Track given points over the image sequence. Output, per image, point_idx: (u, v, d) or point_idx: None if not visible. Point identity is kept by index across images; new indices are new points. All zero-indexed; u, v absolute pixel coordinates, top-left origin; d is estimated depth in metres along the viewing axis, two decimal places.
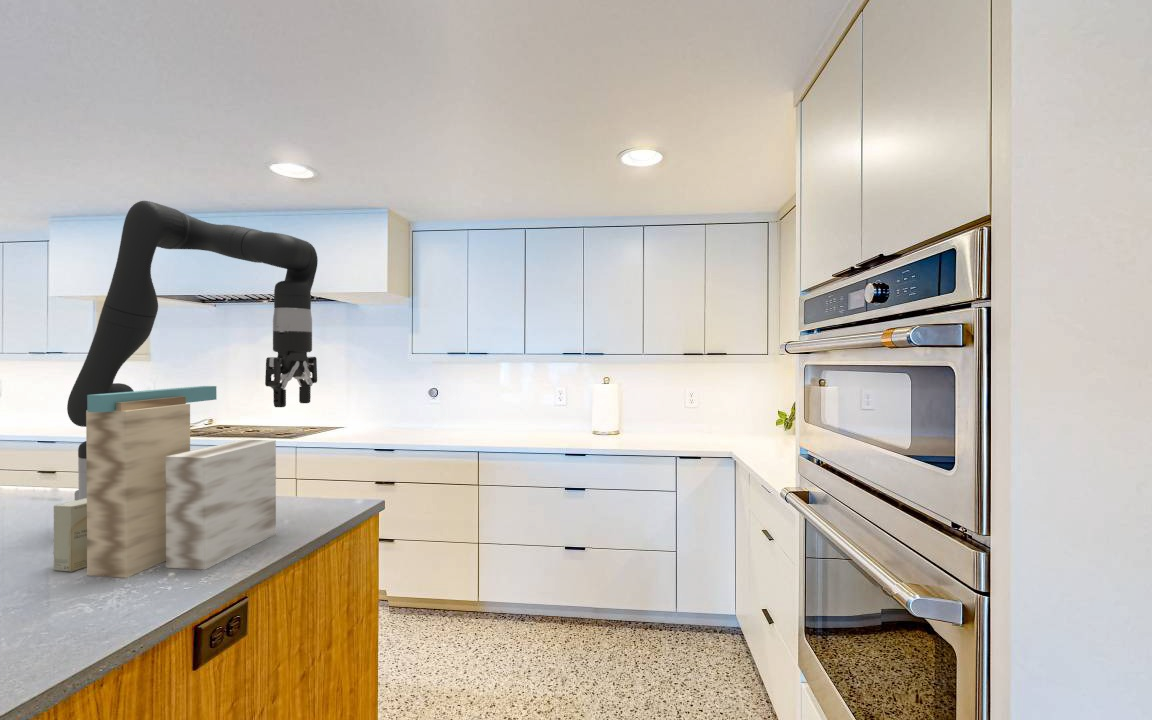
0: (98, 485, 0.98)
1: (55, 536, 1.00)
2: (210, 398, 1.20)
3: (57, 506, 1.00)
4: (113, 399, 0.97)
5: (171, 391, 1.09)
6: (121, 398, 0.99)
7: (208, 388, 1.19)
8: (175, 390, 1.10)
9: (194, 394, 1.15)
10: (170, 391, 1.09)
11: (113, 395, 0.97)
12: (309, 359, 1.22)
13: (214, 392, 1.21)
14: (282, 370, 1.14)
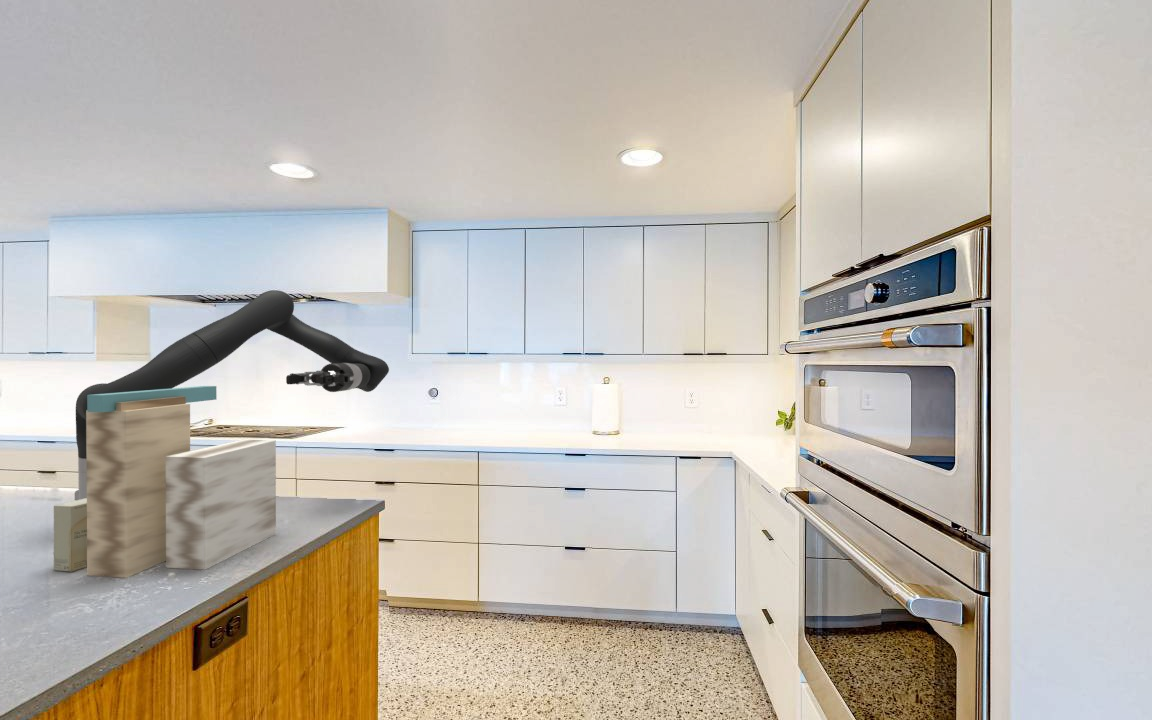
0: (98, 485, 0.98)
1: (55, 536, 1.00)
2: (210, 398, 1.20)
3: (57, 506, 1.00)
4: (113, 399, 0.97)
5: (171, 391, 1.09)
6: (121, 398, 0.99)
7: (208, 388, 1.19)
8: (175, 390, 1.10)
9: (194, 394, 1.15)
10: (170, 391, 1.09)
11: (113, 395, 0.97)
12: (308, 379, 1.40)
13: (214, 392, 1.21)
14: None
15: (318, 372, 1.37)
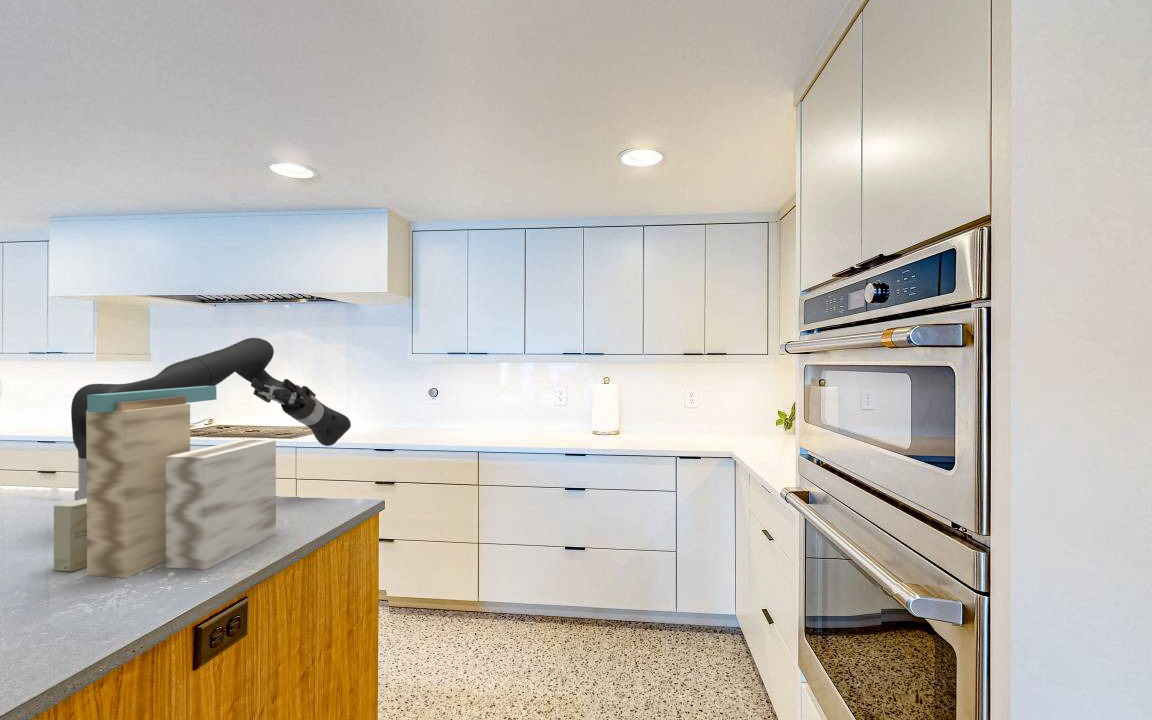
0: (98, 485, 0.98)
1: (55, 536, 1.00)
2: (210, 398, 1.20)
3: (57, 506, 1.00)
4: (113, 399, 0.97)
5: (171, 391, 1.09)
6: (121, 398, 0.99)
7: (208, 388, 1.19)
8: (175, 390, 1.10)
9: (194, 394, 1.15)
10: (170, 391, 1.09)
11: (113, 395, 0.97)
12: None
13: (214, 392, 1.21)
14: (296, 393, 1.43)
15: None
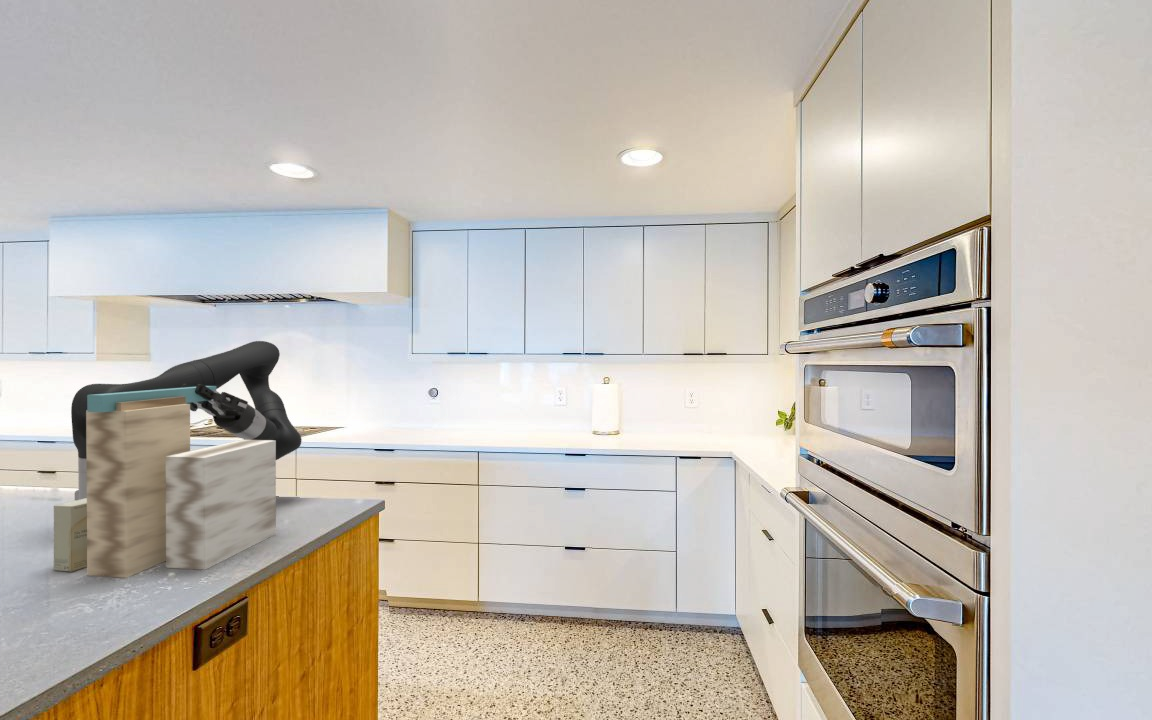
0: (98, 485, 0.98)
1: (55, 536, 1.00)
2: None
3: (57, 506, 1.00)
4: (113, 399, 0.97)
5: (171, 391, 1.09)
6: (121, 398, 0.99)
7: None
8: (175, 390, 1.10)
9: (194, 394, 1.15)
10: (170, 391, 1.09)
11: (113, 395, 0.97)
12: (199, 408, 1.25)
13: None
14: None
15: None
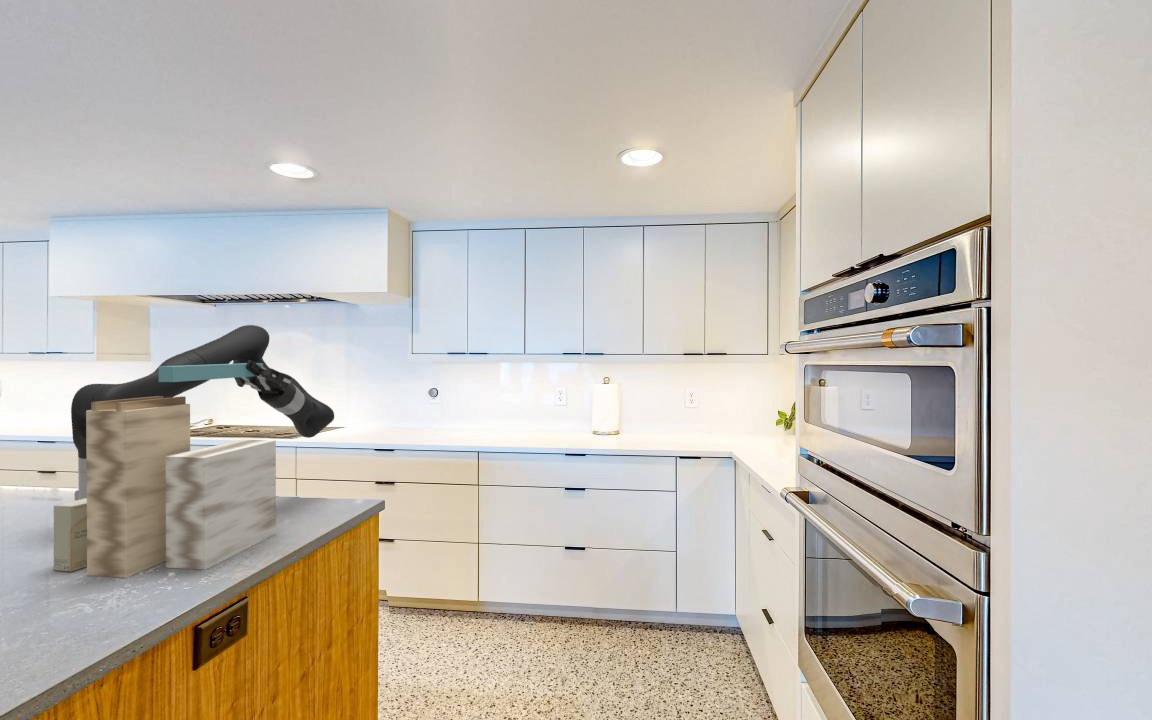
0: (98, 485, 0.98)
1: (55, 536, 1.00)
2: None
3: (57, 506, 1.00)
4: (181, 370, 1.07)
5: (227, 366, 1.19)
6: (187, 370, 1.09)
7: None
8: (230, 365, 1.20)
9: (245, 369, 1.25)
10: (226, 366, 1.19)
11: (181, 367, 1.07)
12: (245, 384, 1.34)
13: None
14: None
15: None
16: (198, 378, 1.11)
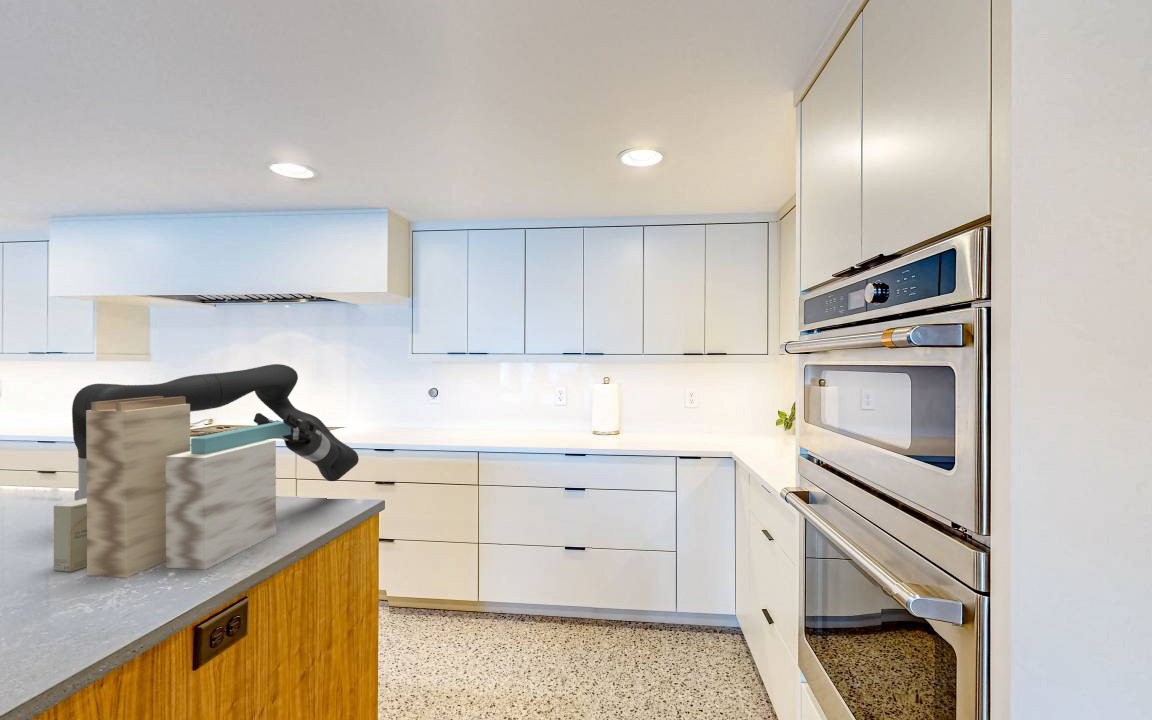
0: (98, 485, 0.98)
1: (55, 536, 1.00)
2: (286, 433, 1.29)
3: (57, 506, 1.00)
4: (213, 441, 1.06)
5: (256, 430, 1.18)
6: (219, 440, 1.08)
7: (285, 424, 1.28)
8: (259, 428, 1.19)
9: (274, 430, 1.24)
10: (256, 430, 1.18)
11: (213, 438, 1.06)
12: None
13: (289, 427, 1.30)
14: (300, 428, 1.32)
15: None
16: (229, 446, 1.11)
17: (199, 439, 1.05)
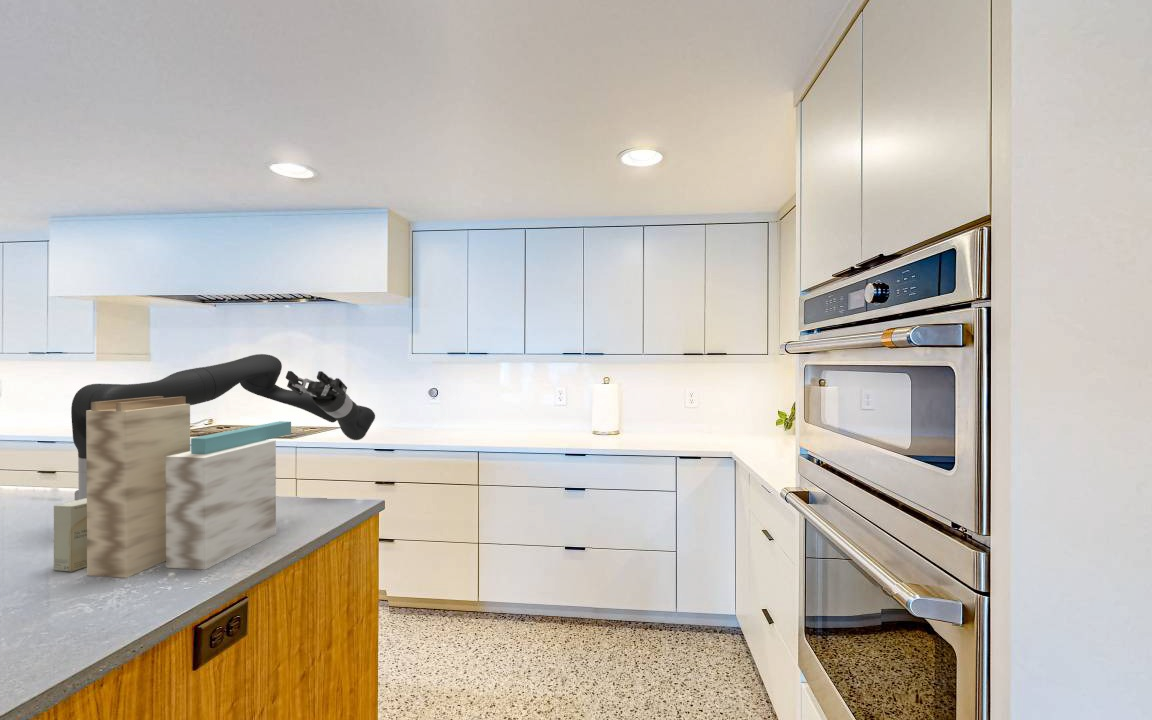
0: (98, 485, 0.98)
1: (55, 536, 1.00)
2: (286, 433, 1.29)
3: (57, 506, 1.00)
4: (213, 441, 1.06)
5: (256, 430, 1.18)
6: (219, 440, 1.08)
7: (285, 424, 1.28)
8: (259, 428, 1.19)
9: (274, 430, 1.24)
10: (256, 430, 1.18)
11: (213, 438, 1.06)
12: (303, 391, 1.49)
13: (289, 427, 1.30)
14: None
15: None
16: (229, 446, 1.11)
17: (199, 439, 1.05)
